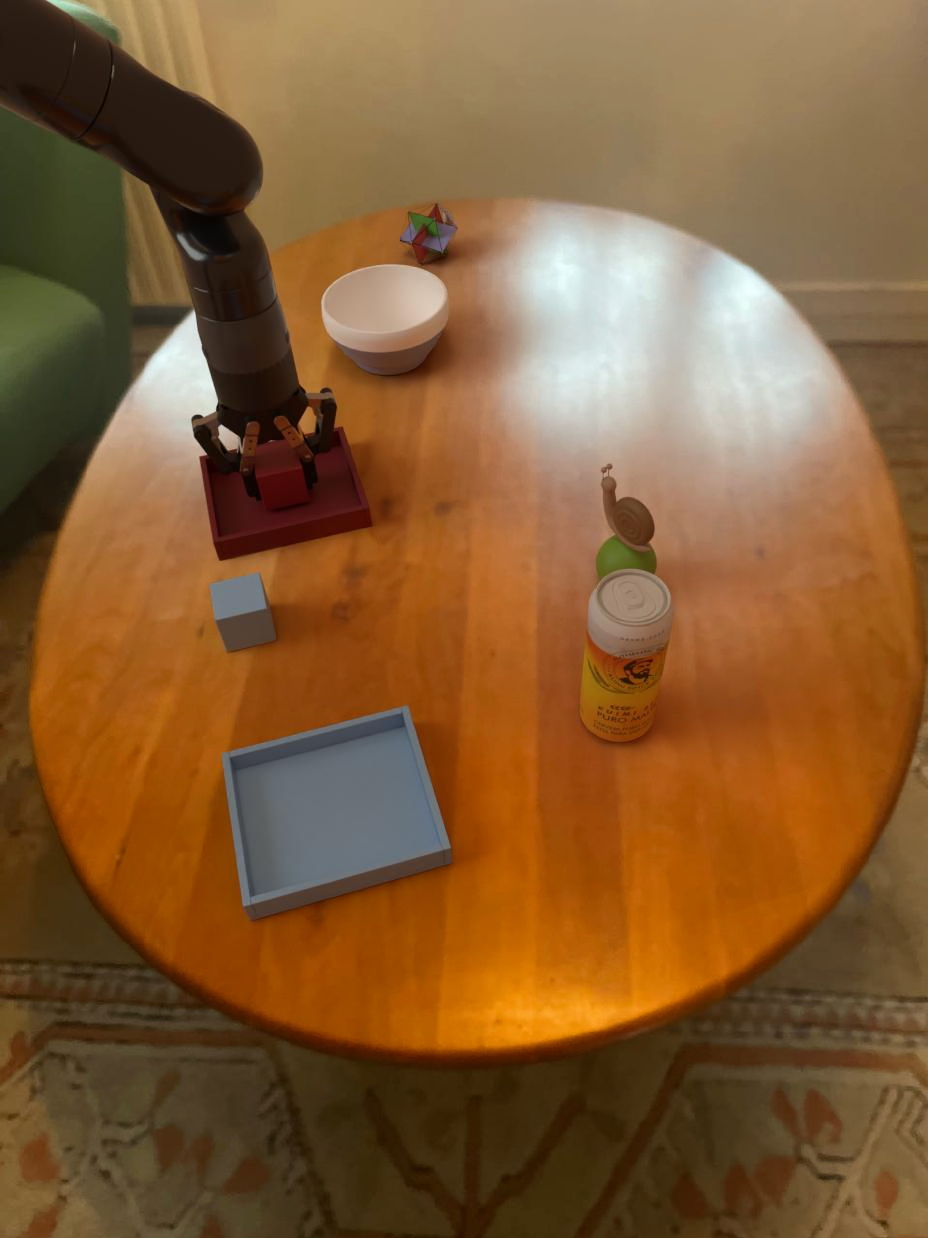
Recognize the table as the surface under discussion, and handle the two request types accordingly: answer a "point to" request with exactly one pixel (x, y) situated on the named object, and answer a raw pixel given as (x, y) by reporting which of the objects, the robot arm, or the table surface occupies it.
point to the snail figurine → (625, 533)
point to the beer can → (625, 653)
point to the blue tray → (332, 812)
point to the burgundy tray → (254, 529)
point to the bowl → (386, 316)
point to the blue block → (242, 612)
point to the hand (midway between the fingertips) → (283, 489)
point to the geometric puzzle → (429, 232)
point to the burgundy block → (280, 476)
